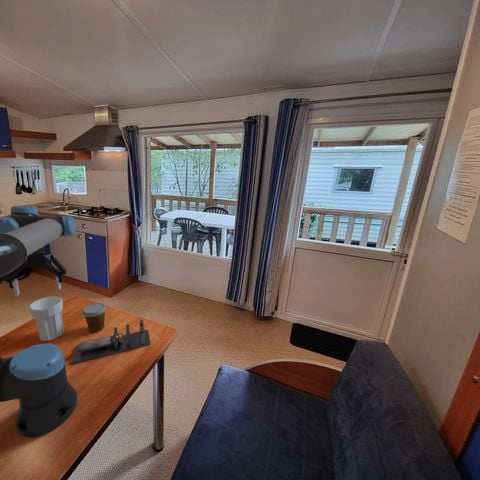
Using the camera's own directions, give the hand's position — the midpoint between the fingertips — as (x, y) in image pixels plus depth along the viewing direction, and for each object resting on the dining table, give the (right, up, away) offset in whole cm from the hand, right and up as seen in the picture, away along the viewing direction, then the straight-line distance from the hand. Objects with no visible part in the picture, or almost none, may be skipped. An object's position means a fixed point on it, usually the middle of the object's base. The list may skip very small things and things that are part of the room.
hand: (39, 292), depth 95 cm
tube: (+24, -25, +4) cm, 35 cm away
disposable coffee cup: (+14, -22, +17) cm, 31 cm away
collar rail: (+28, -26, +7) cm, 39 cm away
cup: (-3, -23, +10) cm, 25 cm away
